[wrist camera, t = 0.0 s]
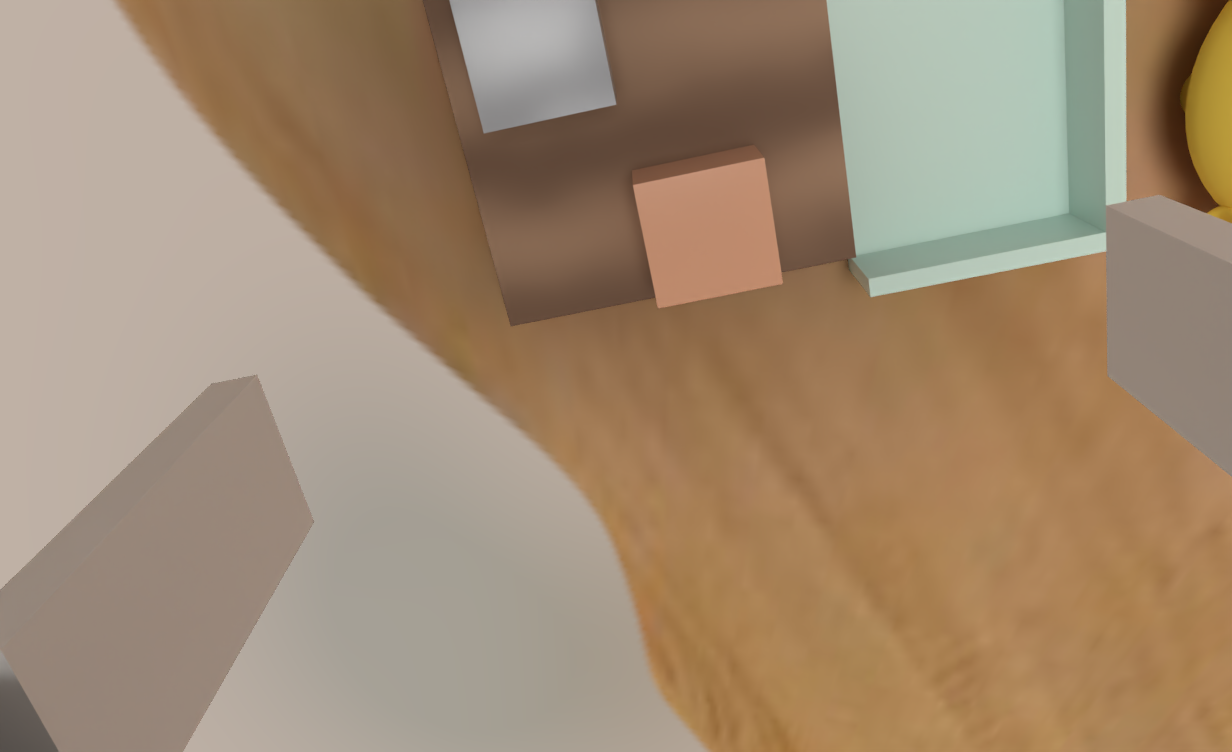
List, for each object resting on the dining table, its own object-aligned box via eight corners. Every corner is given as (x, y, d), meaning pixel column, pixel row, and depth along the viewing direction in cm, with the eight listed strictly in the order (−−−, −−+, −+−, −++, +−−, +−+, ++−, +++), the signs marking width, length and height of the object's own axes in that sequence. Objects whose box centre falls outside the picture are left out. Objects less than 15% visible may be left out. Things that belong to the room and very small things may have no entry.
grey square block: (460, -11, 36) (446, -10, 33) (589, -41, 35) (586, -43, 32) (494, 122, 37) (483, 133, 35) (616, 95, 37) (616, 104, 34)
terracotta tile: (631, 170, 38) (632, 185, 35) (753, 144, 38) (764, 157, 35) (655, 285, 40) (658, 308, 37) (771, 262, 40) (783, 283, 37)
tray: (799, -145, 36) (819, -159, 33) (1073, -210, 36) (1125, -232, 32) (849, 270, 43) (870, 297, 39) (1082, 224, 42) (1126, 247, 38)
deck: (433, -16, 38) (418, -16, 36) (799, -101, 37) (813, -108, 34) (517, 304, 44) (510, 326, 41) (841, 239, 42) (856, 257, 40)
